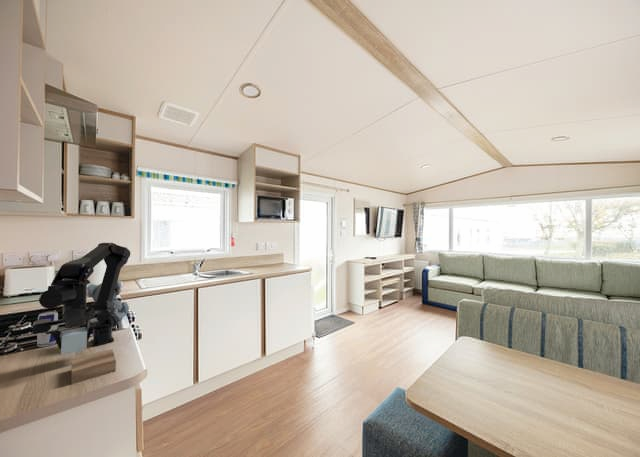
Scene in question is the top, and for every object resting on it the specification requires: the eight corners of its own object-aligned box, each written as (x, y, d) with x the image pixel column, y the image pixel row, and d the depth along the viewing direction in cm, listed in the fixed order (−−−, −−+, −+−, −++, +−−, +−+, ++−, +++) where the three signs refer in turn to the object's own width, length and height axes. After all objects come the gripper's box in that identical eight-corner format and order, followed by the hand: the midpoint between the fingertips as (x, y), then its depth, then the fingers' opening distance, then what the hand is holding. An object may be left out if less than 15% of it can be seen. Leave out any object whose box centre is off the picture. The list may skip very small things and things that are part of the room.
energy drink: (43, 348, 94) (44, 316, 94) (33, 346, 95) (34, 315, 95) (60, 342, 99) (61, 311, 99) (50, 340, 100) (51, 310, 101)
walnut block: (71, 371, 80) (71, 359, 80) (111, 360, 87) (112, 349, 87) (71, 385, 73) (71, 372, 73) (115, 372, 80) (115, 360, 80)
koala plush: (129, 312, 135) (130, 276, 136) (125, 323, 120) (126, 282, 120) (86, 318, 126) (87, 279, 126) (76, 330, 111) (77, 286, 111)
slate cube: (60, 349, 85) (61, 331, 85) (84, 343, 89) (85, 326, 89) (61, 355, 81) (61, 336, 81) (86, 349, 85) (87, 331, 85)
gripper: (32, 311, 73) (30, 364, 73) (114, 299, 86) (113, 344, 86) (33, 303, 80) (32, 351, 80) (109, 293, 94) (107, 334, 94)
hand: (73, 345), depth 85 cm, fingers closed on slate cube, 6 cm apart
